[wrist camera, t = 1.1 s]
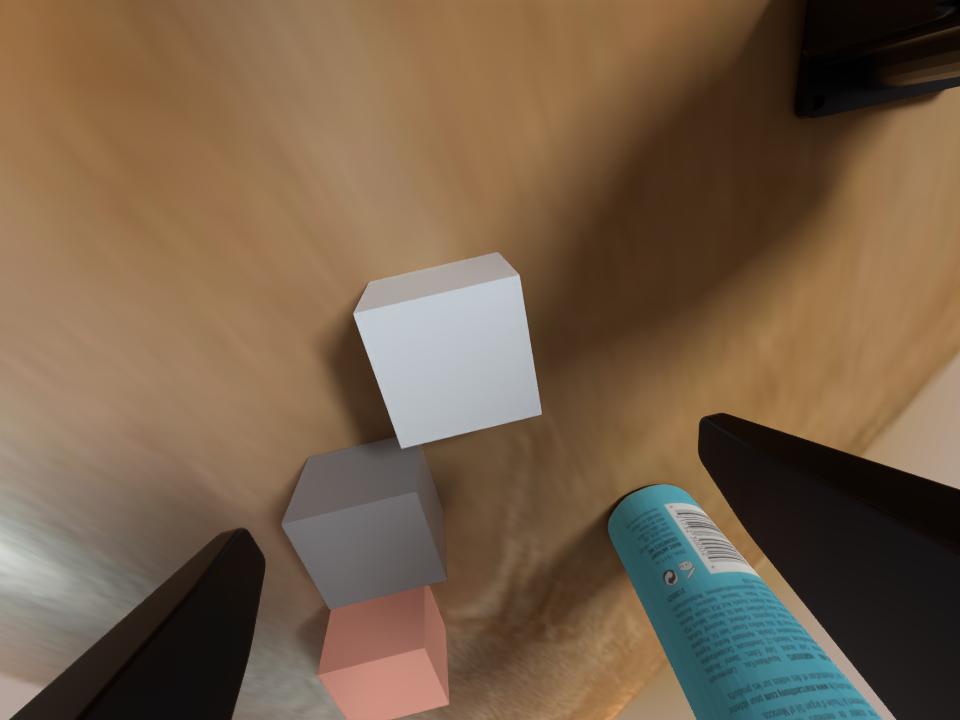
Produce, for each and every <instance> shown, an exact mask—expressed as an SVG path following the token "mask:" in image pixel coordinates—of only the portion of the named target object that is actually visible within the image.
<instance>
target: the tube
mask: <svg viewBox="0 0 960 720" xmlns="http://www.w3.org/2000/svg"><path fill="white" fill-rule="evenodd" d="M608 533H609V536H610V539H611V541H612V543H613V545H614V547H615V549H616V551H617V553H618V555H619V557H620V560H621V562H622V564H623V566H624V568H625V570H626V572H627V574H628V576H629V578H630V580H631V582H632V584H633V586H634V588H635V591H636V593H637V595H638V597H639V599H640V601H641V603H642V605H643V607H644V609H645V611H646V613H647V615H648V617H649V620H650V622H651V624H652V626H653V628H654V630H655V632H656V634H657V636H658V639H659V641H660V643H661V645H662V647H663V649H664V651H665V653H666V655H667V658H668V660H669V662H670V664H671V666H672V668H673V670H674V672H675V674H676V677H677V679H678V681H679V683H680V685H681V687H682V689H683V691H684V693H685V696H686V698H687V700H688V702H689V704H690V706H691V709H692V710H693V713H694V715H695V717H696V719H697V720H882V718H881V717H880V716H879V715H878V714H877V713H876V712H875V710H874V709H873V708H872V707H871V706H870V704H869V703H868V702H867V701H866V700H865V699H864V698H863V696H862V695H861V694H860V693H859V692H858V691H857V690H856V688H855V687H854V686H853V685H852V684H851V682H850V681H849V680H848V679H847V678H846V677H845V676H844V674H843V673H842V672H841V671H840V670H839V669H838V668H837V666H836V665H835V664H834V663H833V662H832V661H831V659H830V658H829V657H828V656H827V655H826V654H825V652H824V651H823V650H822V649H821V648H820V647H819V646H818V644H817V643H816V642H815V641H814V640H813V639H812V638H811V636H810V635H809V634H808V633H807V632H806V630H805V629H804V628H803V627H802V626H801V625H800V624H799V622H798V621H797V620H796V619H795V618H794V616H793V615H792V614H791V613H790V612H789V611H788V609H787V608H786V607H785V606H784V605H783V604H782V603H781V601H780V600H779V599H778V598H777V597H776V596H775V594H774V593H773V592H772V591H771V590H770V589H769V587H768V586H767V585H766V584H765V583H764V582H763V580H762V579H761V578H760V577H759V576H758V574H757V573H756V572H755V571H754V570H753V569H752V567H751V566H750V565H749V564H748V563H747V562H746V560H745V559H744V558H743V557H742V556H741V555H740V553H739V552H738V551H737V550H736V549H735V548H734V546H733V545H732V544H731V543H730V542H729V541H728V539H727V538H726V537H725V536H724V535H723V534H722V532H721V531H720V530H719V529H718V528H717V527H716V525H715V524H714V523H713V522H712V521H711V519H710V518H709V517H708V516H707V515H706V514H705V512H704V511H703V510H702V509H701V508H700V507H699V506H698V504H697V503H696V502H695V501H694V500H693V499H692V498H691V496H690V495H689V494H688V493H687V492H685V491H684V490H682V489H680V488H678V487H675V486H671V485H665V484H660V485H654V486H649V487H646V488H643V489H641V490H639V491H636V492H634V493H632V494H630V495H628V496H627V497H626V498H625V499H624V500H623V501H622V502H621V503H620V504H619V505H618V506H617V507H616V509H615V510H614V512H613V513H612V515H611V517H610V519H609V523H608Z"/></svg>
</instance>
